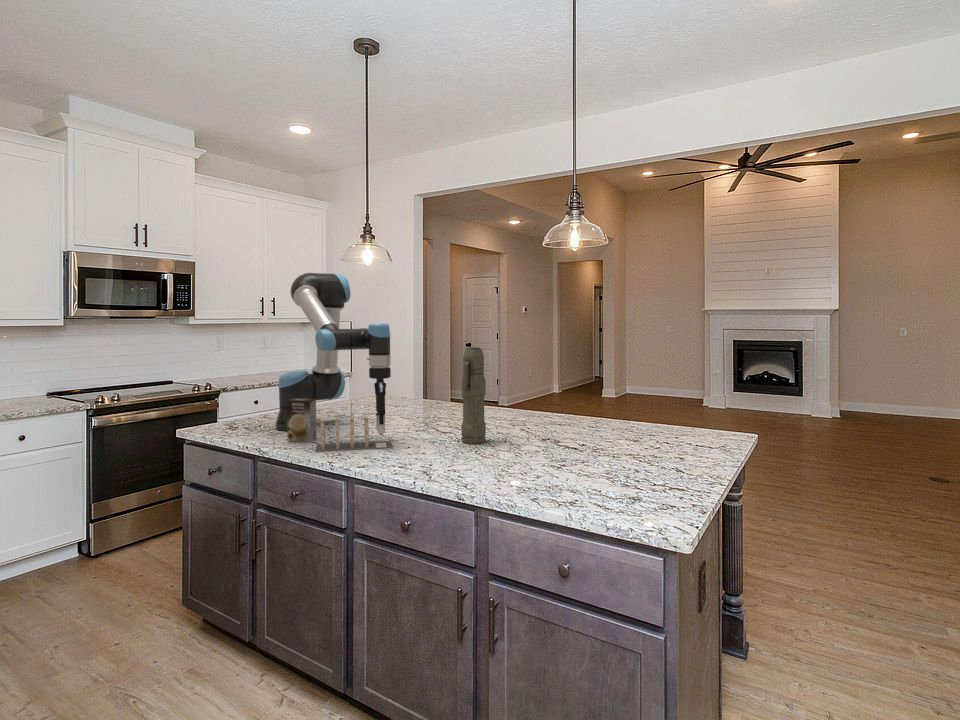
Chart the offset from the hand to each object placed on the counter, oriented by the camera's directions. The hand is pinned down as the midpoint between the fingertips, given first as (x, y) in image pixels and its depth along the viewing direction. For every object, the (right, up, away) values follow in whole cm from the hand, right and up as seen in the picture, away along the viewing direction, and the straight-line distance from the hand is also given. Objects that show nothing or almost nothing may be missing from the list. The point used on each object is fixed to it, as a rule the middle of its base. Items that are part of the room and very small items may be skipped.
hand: (380, 431), depth 198 cm
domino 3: (-10, -5, -2) cm, 11 cm away
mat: (-9, -5, -1) cm, 11 cm away
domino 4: (-5, -5, -1) cm, 7 cm away
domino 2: (-15, -5, -3) cm, 16 cm away
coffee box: (-31, -5, +8) cm, 32 cm away
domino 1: (-20, -5, -4) cm, 21 cm away
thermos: (+33, -5, +8) cm, 34 cm away
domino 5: (0, -1, 0) cm, 1 cm away
